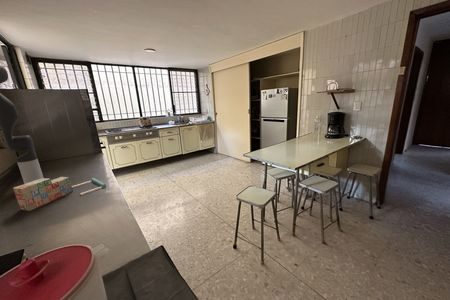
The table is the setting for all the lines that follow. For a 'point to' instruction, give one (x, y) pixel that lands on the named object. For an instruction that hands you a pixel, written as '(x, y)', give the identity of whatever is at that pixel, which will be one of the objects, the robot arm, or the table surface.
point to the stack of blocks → (41, 192)
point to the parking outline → (92, 189)
